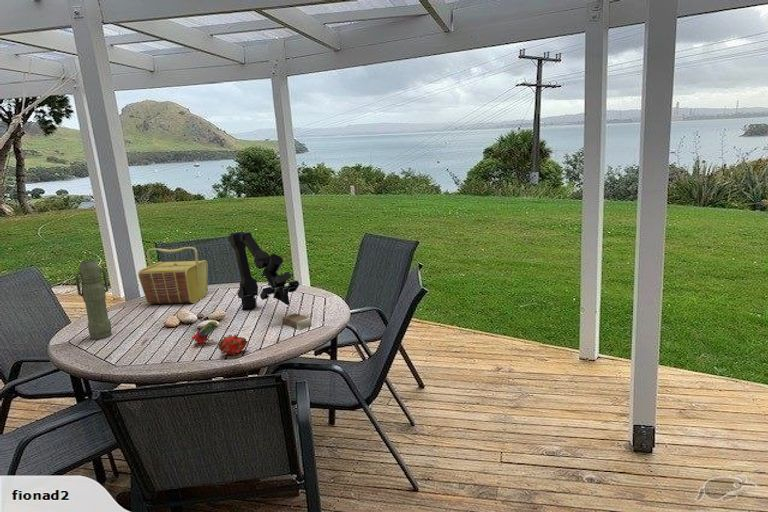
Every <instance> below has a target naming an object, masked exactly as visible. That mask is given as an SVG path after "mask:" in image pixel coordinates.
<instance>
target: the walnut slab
mask: <svg viewBox="0 0 768 512" xmlns="http://www.w3.org/2000/svg"><path fill="white" fill-rule="evenodd" d="M282 324H283V325H284V326H287V327H290V328H293V329H295V330H298V331H299V330H302V329H305V328H308V327H312V318H311V317H308V316H306V315H301V314H299V313H296V312H295V313H292V314H289V315H286V316H283V317H282Z"/></svg>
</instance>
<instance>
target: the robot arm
mask: <svg viewBox="0 0 768 512" xmlns="http://www.w3.org/2000/svg"><path fill="white" fill-rule="evenodd" d="M228 241H229V244H230V246H231V247H232V249H234V251H235V254H236V259H237V260H236V261H237V263H238V268H239V272H240V277H241V279H240V283H239V289H238V292H237V298H239V299H241V310H242V311H248V310H255V309H256V308H257V306H258V303H257V301H258V300H257V297H256V296H258V293H259V285H258V283H257V278H254V277H253V276H252V274H251V273H252V272H251V268H250V263H249V259H248V255H247V251H246V248H247V250H248V251H249V253H250V254H251V255H252V256H253V262H254V265H255V267H256V268H257V269H259V270H262V269H263V270H262V273H261V276H262V277H265V279H266V281H267V285H268V287H263V288H262V290H261V292H260V294H259V297H260V299H261V300H262V301H263V300H267V299H268V298H269V295H272V294H273V296H272V298H273V299H275V300H279V302H281V303H283V304H285V305H287V306H289V305H290V297H289V293H294V292H296V291H297V290H298V288H299V286H300V282H299V281H298V280H296V279H295V280H291V281H290V279H291V278H292V274H291V273H290V271H286V272H284V273H283V274H279V273H278V271H279V270H280V268H281V267H282V264H283V263H284V259H283V258H282V256H280V255H277V254H276V253H271V254H269V253H268V252H267V251H264V250H263V249H262V248H261V247H260V246H259V244H258V242H256V241H257V240H255V238H254V237H253V234H252V233H251V232H250V231H249V232H248V231H247V232H245V231H243V230H242V231H237V232H236V231H235V232H231V233H230V234H229V236H228ZM288 281H289V283H288V284H287V282H288ZM286 284H287V285H286Z"/></svg>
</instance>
